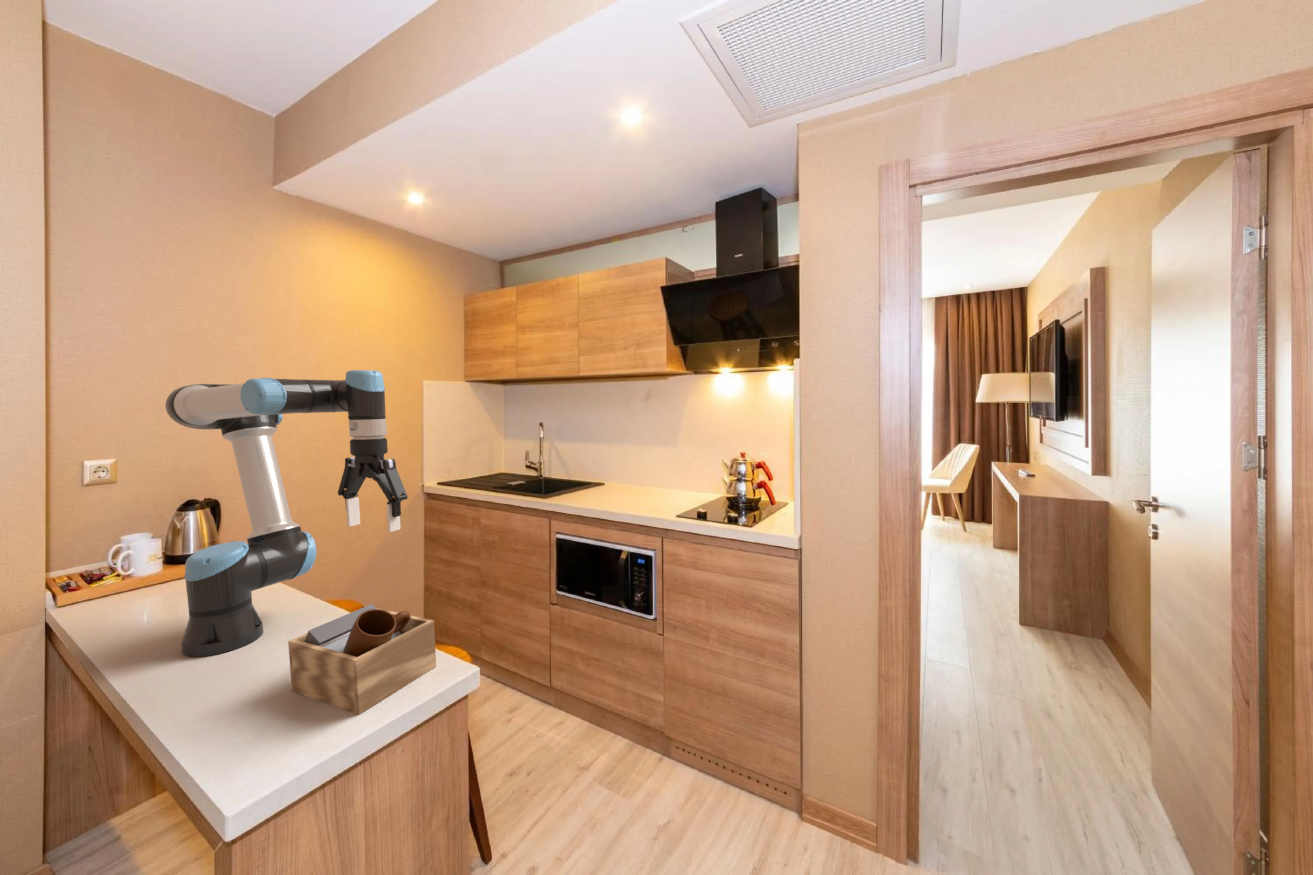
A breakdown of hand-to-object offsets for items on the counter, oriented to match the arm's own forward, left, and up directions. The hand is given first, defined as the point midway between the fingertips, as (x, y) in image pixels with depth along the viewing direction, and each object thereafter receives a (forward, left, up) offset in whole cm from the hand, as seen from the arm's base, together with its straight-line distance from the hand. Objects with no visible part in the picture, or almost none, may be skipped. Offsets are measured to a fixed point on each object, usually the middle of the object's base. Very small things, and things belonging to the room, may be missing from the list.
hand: (373, 527), depth 117 cm
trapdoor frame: (+10, -11, -29) cm, 32 cm away
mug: (+12, -11, -23) cm, 28 cm away
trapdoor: (+7, -11, -23) cm, 27 cm away
